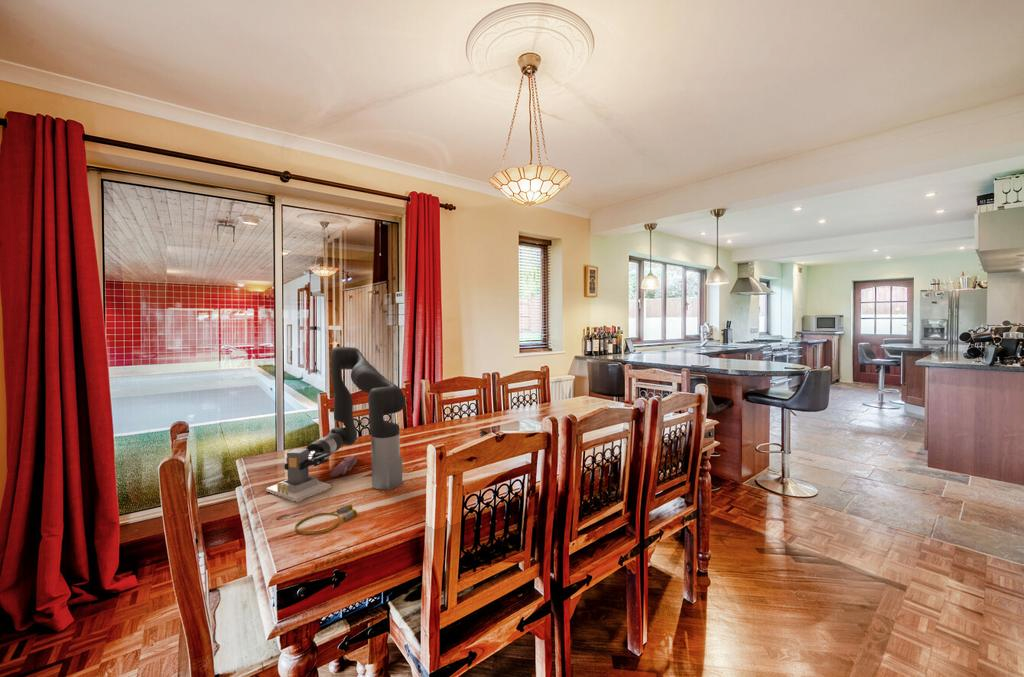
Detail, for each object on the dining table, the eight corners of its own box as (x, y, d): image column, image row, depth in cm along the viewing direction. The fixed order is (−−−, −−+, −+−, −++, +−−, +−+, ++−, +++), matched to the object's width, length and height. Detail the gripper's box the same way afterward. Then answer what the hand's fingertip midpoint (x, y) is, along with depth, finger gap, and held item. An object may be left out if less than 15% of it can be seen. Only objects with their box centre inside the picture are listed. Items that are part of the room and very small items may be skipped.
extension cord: (358, 527, 111) (358, 520, 111) (293, 540, 105) (293, 532, 105) (356, 508, 122) (355, 501, 122) (296, 519, 116) (296, 512, 116)
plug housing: (308, 480, 136) (307, 448, 136) (300, 487, 131) (298, 453, 131) (296, 480, 137) (295, 448, 136) (286, 486, 132) (285, 453, 131)
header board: (330, 487, 136) (330, 477, 136) (296, 502, 125) (296, 490, 125) (300, 478, 143) (300, 468, 143) (266, 491, 133) (265, 480, 133)
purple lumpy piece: (338, 482, 144) (346, 465, 143) (327, 476, 145) (335, 459, 144) (354, 472, 154) (361, 456, 153) (344, 466, 155) (351, 450, 154)
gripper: (302, 439, 148) (271, 455, 131) (340, 439, 147) (313, 456, 130) (302, 459, 149) (272, 478, 132) (340, 460, 148) (314, 479, 131)
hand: (293, 467), depth 131 cm, fingers closed on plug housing, 4 cm apart
